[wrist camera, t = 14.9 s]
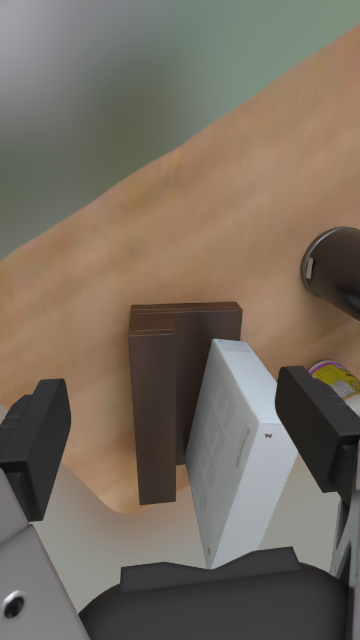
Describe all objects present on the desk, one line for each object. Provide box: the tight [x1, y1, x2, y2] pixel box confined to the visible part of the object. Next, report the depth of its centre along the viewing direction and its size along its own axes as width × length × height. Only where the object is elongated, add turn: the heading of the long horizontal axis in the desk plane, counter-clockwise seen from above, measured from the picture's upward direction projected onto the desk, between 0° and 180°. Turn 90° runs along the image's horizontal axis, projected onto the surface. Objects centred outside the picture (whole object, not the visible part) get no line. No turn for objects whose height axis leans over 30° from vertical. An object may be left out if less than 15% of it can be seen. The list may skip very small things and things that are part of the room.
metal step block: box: [128, 302, 243, 505], centre depth 41 cm, size 14×26×9 cm, turn 179°
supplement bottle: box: [308, 360, 360, 417], centre depth 42 cm, size 7×7×13 cm
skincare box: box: [185, 339, 298, 569], centre depth 36 cm, size 21×5×16 cm, turn 170°
